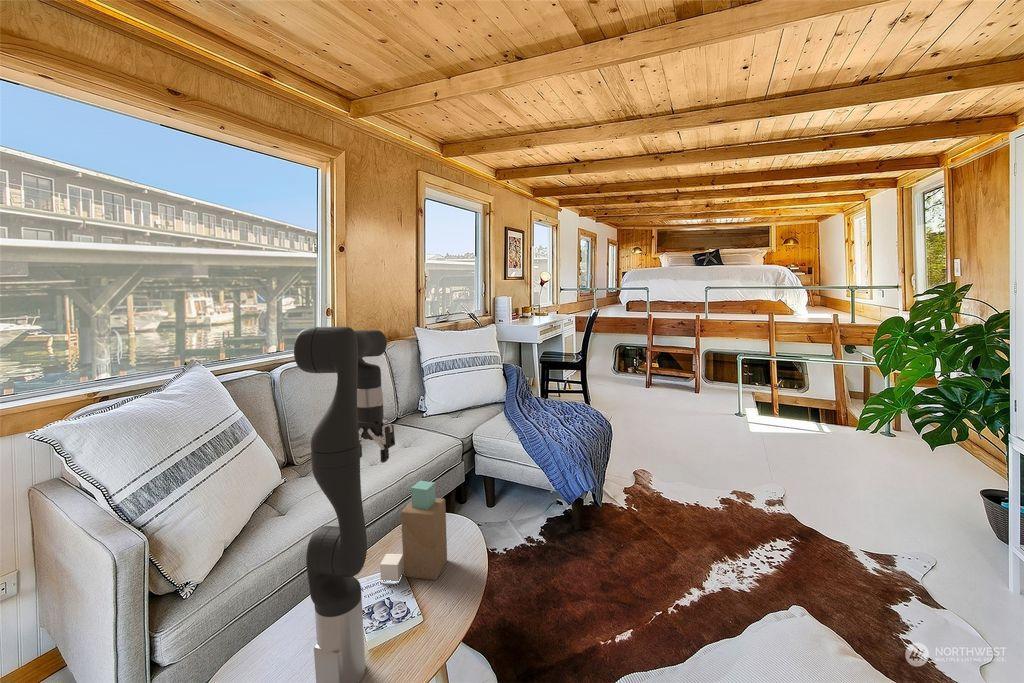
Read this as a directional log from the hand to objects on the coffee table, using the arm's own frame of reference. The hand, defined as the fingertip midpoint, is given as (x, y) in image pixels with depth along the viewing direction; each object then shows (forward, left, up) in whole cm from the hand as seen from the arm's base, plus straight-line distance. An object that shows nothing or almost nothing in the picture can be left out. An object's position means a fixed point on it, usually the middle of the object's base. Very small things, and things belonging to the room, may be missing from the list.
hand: (371, 459), depth 122 cm
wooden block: (+9, -11, -36) cm, 38 cm away
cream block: (+2, -4, -36) cm, 36 cm away
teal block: (+9, -11, -16) cm, 21 cm away
